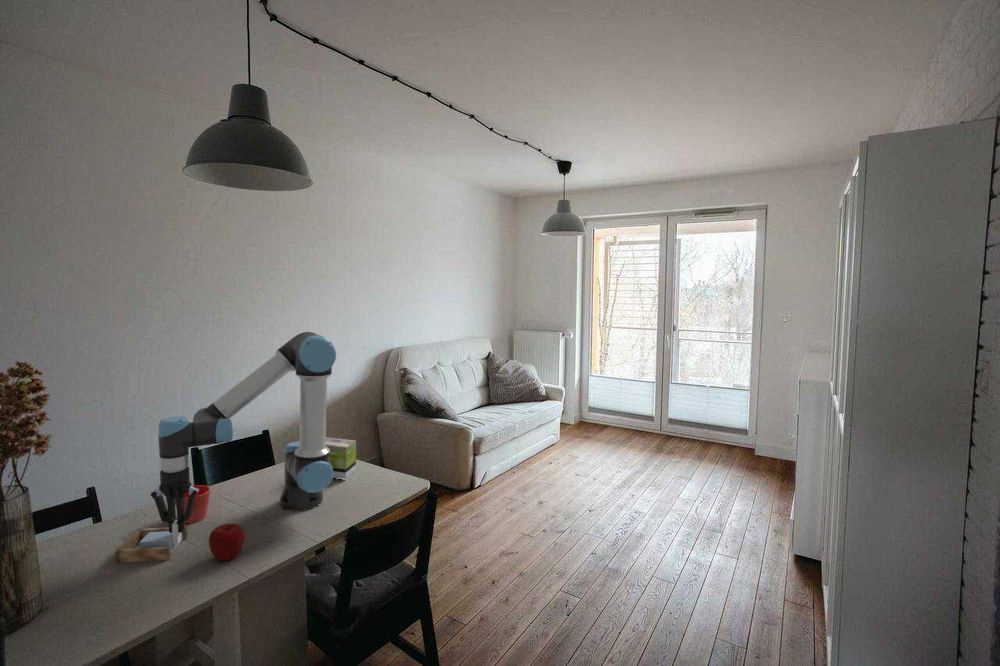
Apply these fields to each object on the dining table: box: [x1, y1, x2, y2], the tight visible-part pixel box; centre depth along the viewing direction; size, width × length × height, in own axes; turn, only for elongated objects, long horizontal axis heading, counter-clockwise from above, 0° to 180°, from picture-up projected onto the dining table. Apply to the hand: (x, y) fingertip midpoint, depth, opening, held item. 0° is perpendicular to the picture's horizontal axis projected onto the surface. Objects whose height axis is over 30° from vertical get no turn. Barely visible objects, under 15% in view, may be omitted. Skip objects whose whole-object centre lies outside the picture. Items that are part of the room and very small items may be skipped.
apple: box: [208, 522, 246, 562], centre depth 153 cm, size 10×10×10 cm
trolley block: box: [139, 531, 179, 553], centre depth 156 cm, size 8×7×4 cm
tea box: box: [326, 436, 357, 478], centre depth 218 cm, size 15×10×15 cm
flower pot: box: [175, 484, 211, 524], centre depth 176 cm, size 11×11×10 cm
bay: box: [114, 526, 189, 564], centre depth 157 cm, size 14×13×4 cm
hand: (177, 541), depth 158 cm, fingers closed
